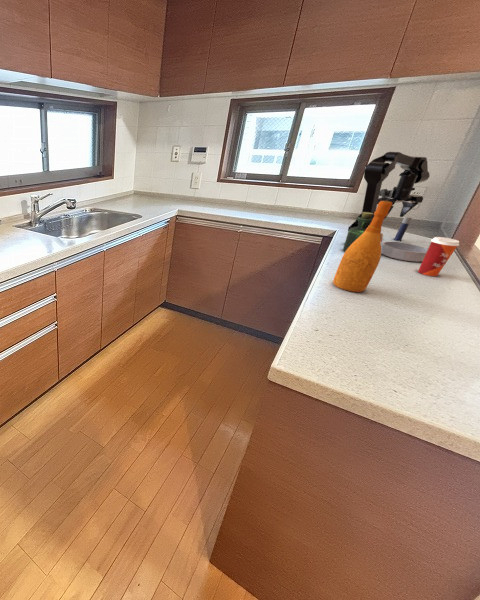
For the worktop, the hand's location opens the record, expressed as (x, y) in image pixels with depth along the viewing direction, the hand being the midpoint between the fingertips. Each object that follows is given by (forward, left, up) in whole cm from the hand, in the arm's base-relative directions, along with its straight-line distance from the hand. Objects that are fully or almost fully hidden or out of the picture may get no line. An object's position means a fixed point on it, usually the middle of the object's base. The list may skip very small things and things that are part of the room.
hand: (392, 217), depth 161 cm
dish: (-19, -16, -12) cm, 28 cm away
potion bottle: (-34, -3, -13) cm, 36 cm away
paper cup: (-35, -31, -13) cm, 48 cm away
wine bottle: (-80, -25, -13) cm, 84 cm away
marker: (+12, -2, -12) cm, 18 cm away
